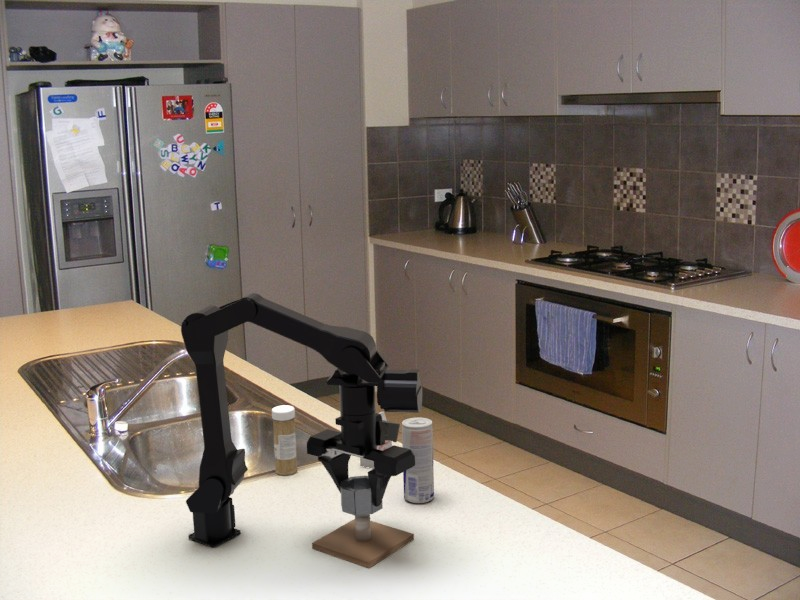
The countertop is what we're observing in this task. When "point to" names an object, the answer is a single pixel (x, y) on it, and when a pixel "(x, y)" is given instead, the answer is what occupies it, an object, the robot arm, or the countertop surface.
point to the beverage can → (419, 460)
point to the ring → (357, 496)
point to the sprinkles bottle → (284, 439)
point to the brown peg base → (363, 541)
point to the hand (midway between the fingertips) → (361, 500)
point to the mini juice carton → (387, 445)
